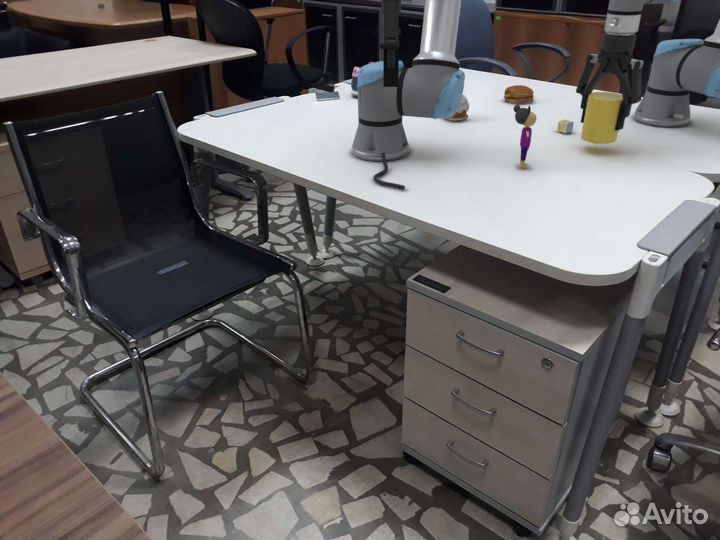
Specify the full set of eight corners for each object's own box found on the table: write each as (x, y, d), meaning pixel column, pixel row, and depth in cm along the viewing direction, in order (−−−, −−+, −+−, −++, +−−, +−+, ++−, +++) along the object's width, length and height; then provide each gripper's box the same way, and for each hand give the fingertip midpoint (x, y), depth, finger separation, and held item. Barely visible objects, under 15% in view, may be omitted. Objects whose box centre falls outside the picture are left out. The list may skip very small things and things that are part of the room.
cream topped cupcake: (469, 115, 182) (472, 66, 174) (466, 122, 175) (469, 72, 168) (444, 114, 184) (447, 66, 176) (441, 121, 177) (443, 71, 169)
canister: (574, 135, 153) (581, 93, 147) (602, 132, 155) (611, 90, 149) (593, 145, 146) (602, 101, 140) (623, 142, 148) (633, 98, 142)
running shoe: (411, 86, 217) (412, 56, 211) (366, 100, 200) (365, 68, 195) (392, 82, 222) (392, 53, 217) (346, 96, 206) (345, 65, 200)
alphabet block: (565, 133, 164) (567, 123, 162) (556, 131, 166) (558, 121, 164) (572, 131, 165) (574, 121, 164) (563, 129, 168) (565, 119, 166)
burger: (537, 99, 196) (538, 85, 194) (525, 105, 190) (527, 91, 188) (510, 95, 202) (511, 82, 199) (498, 101, 195) (499, 87, 193)
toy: (530, 174, 138) (539, 113, 130) (507, 173, 139) (514, 112, 131) (528, 159, 147) (536, 101, 139) (506, 158, 148) (513, 100, 140)
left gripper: (416, -48, 87) (412, 94, 98) (410, -53, 108) (408, 64, 119) (367, -46, 87) (369, 94, 98) (371, -52, 109) (372, 64, 120)
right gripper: (571, 30, 142) (556, 120, 153) (658, 39, 128) (635, 137, 140) (586, 26, 146) (571, 114, 158) (672, 35, 132) (649, 131, 144)
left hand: (390, 78), depth 109 cm, fingers open, 13 cm apart
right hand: (601, 125), depth 149 cm, fingers closed on canister, 9 cm apart
